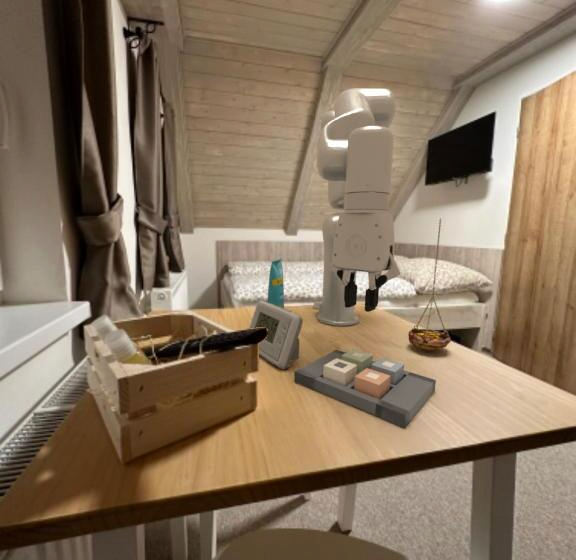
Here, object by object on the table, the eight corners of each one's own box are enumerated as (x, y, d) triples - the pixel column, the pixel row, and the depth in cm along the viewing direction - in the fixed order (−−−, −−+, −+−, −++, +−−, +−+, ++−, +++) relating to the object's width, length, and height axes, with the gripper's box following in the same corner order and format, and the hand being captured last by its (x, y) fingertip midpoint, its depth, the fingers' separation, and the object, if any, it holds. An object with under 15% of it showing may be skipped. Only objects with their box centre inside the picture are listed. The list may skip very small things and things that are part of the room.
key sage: (341, 367, 60) (341, 355, 60) (352, 361, 63) (352, 348, 63) (361, 374, 57) (362, 361, 57) (371, 367, 60) (372, 354, 60)
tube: (281, 337, 80) (282, 261, 77) (262, 335, 81) (263, 260, 78) (286, 328, 88) (288, 258, 84) (269, 326, 88) (270, 257, 85)
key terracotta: (353, 390, 52) (354, 376, 51) (365, 381, 55) (366, 367, 54) (378, 400, 49) (379, 384, 49) (389, 390, 52) (390, 375, 52)
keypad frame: (294, 381, 57) (294, 371, 57) (335, 358, 68) (336, 349, 68) (404, 428, 45) (405, 415, 44) (434, 390, 55) (435, 380, 55)
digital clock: (243, 345, 75) (243, 300, 73) (279, 340, 78) (279, 298, 76) (265, 375, 60) (266, 320, 58) (308, 367, 63) (310, 316, 62)
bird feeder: (453, 359, 69) (470, 218, 64) (410, 355, 71) (423, 217, 66) (442, 345, 77) (456, 219, 72) (404, 341, 79) (415, 218, 74)
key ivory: (323, 379, 55) (323, 365, 55) (336, 371, 59) (336, 357, 58) (344, 387, 53) (345, 372, 52) (356, 378, 56) (357, 364, 56)
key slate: (370, 378, 56) (371, 364, 56) (380, 370, 59) (381, 357, 59) (393, 386, 54) (395, 371, 53) (403, 377, 57) (404, 363, 56)
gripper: (314, 205, 58) (311, 304, 61) (405, 202, 47) (396, 322, 50) (337, 207, 63) (332, 298, 66) (422, 205, 53) (412, 313, 56)
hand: (360, 307), depth 58 cm, fingers open, 3 cm apart
